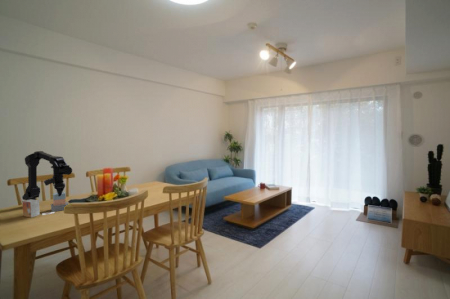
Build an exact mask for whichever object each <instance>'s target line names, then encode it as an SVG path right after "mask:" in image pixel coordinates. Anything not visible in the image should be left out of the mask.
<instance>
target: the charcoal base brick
mask: <svg viewBox="0 0 450 299" xmlns="http://www.w3.org/2000/svg"><path fill="white" fill-rule="evenodd" d="M65 202H66V204H63V205H56V206H54V205H53V203H51V204H50V210H51V211H50V212H61V211H65V210H64V207H65V206H66V205H68V204H69V202H68V201H65Z"/></svg>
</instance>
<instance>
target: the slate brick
mask: <svg viewBox="0 0 450 299" xmlns="http://www.w3.org/2000/svg"><path fill="white" fill-rule="evenodd" d="M52 199H53V200H60V199H65V200H66V192H65V191H63V192H62V194H61V196H59V195H58V193H57V192H54V193H52ZM53 200H52V201H53Z"/></svg>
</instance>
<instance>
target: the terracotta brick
mask: <svg viewBox="0 0 450 299" xmlns="http://www.w3.org/2000/svg"><path fill="white" fill-rule="evenodd" d="M52 202H53V203H52V204H53V205H54V206H56V205H63V204H66V202H67V201H66V199H60V200H52Z"/></svg>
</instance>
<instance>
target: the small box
mask: <svg viewBox="0 0 450 299" xmlns="http://www.w3.org/2000/svg"><path fill="white" fill-rule="evenodd" d="M22 216H23V217H27V218H33V217H37V216H40V200H39V199H36V200H32V199H30V200H23V201H22Z"/></svg>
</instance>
